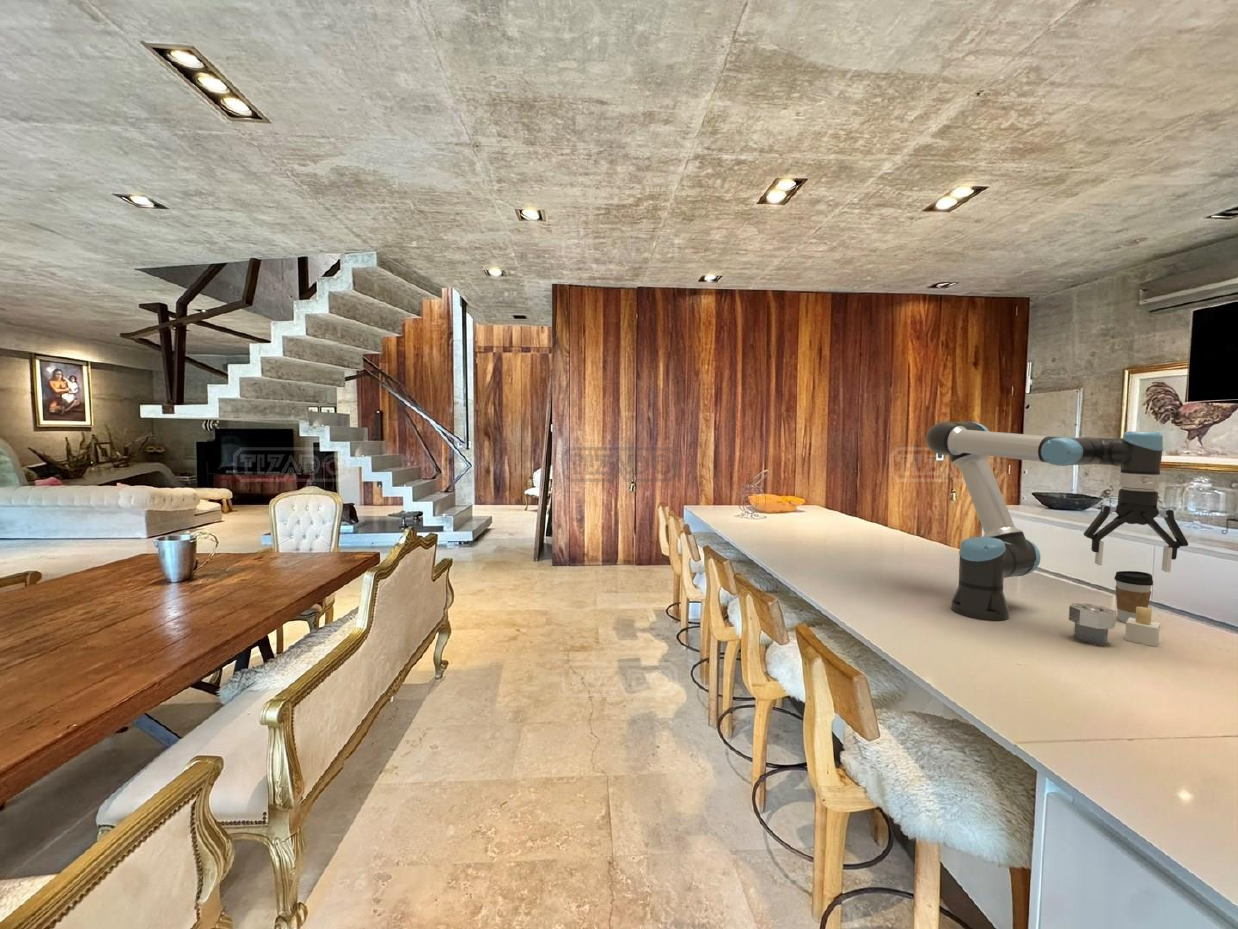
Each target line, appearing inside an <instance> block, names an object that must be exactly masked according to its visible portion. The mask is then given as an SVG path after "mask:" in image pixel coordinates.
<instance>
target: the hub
mask: <svg viewBox="0 0 1238 929" xmlns="http://www.w3.org/2000/svg"><path fill="white" fill-rule="evenodd" d="M1152 612H1153V609H1152V608H1149V607H1148V608H1146V607H1136V619H1135V618H1130V617H1129V619H1128V620H1127V622H1126V623H1125V638H1124V640H1125V641H1129V642H1132V643H1137V644H1142V645H1146V646H1150V647H1155V648H1156V647H1158V644H1159V642H1160V629H1161V623H1160V622H1157V621H1156V622H1155V621H1152Z"/></svg>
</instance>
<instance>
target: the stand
mask: <svg viewBox="0 0 1238 929" xmlns="http://www.w3.org/2000/svg"><path fill="white" fill-rule="evenodd" d="M1085 609H1087V610H1092V611H1100V608H1097V607H1093V606H1085ZM1073 636H1074V638H1073V640H1074V641H1077V642H1082V643H1084V644H1089V645H1090V644H1091V645H1093V646H1097V647H1098V646H1099V647H1103V648H1104V647H1105V646H1106V644H1107V643H1108V640H1109V639H1108V638H1109V629H1097V628H1093V627H1088V626H1083V625H1079V624H1077V623H1075V622H1074V635H1073Z"/></svg>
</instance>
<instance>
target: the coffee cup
mask: <svg viewBox="0 0 1238 929" xmlns="http://www.w3.org/2000/svg"><path fill="white" fill-rule="evenodd" d="M1114 581H1115V597H1116V598H1115V599H1116V608H1117V609H1116V617H1117V620H1118V622H1122V623H1124V624H1126V622H1127V620H1128V619H1129V617H1130V618H1135V619H1136V607H1146V608H1149V605H1150V604H1149V603H1150V601H1151V594H1152V591H1151V588H1152V586H1154V581H1153V575H1152V574H1151V573H1148V572H1144V571H1135V570H1123V571H1122V570H1121V571H1116V573H1115V575H1114Z"/></svg>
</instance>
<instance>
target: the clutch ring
mask: <svg viewBox="0 0 1238 929" xmlns="http://www.w3.org/2000/svg"><path fill="white" fill-rule="evenodd" d="M1085 606H1093V607H1097V608H1100V611H1092V610H1087V609H1085ZM1068 613H1069V614H1068V620H1069V621H1071V622H1073V623H1074V624H1075V623H1077V624H1079V625H1083V626H1088V627H1093V628H1097V629H1108V630H1114V628H1115V627H1116V620H1117V619H1116V618H1117V610H1113V609H1111V608H1109V607H1106V606H1102V605H1097V604H1093V603H1092V604H1091V603H1085V602H1084V603H1082V602H1072V603H1070V605H1069V610H1068Z"/></svg>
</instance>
